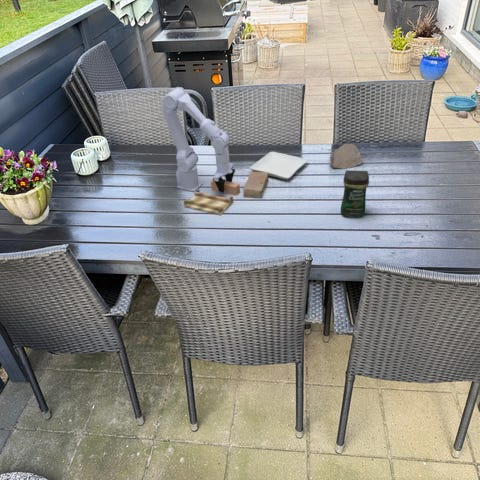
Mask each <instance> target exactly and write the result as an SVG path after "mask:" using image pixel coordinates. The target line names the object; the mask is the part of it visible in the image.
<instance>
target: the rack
mask: <svg viewBox="0 0 480 480" xmlns="http://www.w3.org/2000/svg"><path fill="white" fill-rule="evenodd" d="M193 192H194V196H192V197H191V199H189V198H186V199H184V200H183V206H184V208H187V209H192V210H196V211H200V212H205V213H209V214H212V215H216V216H222V215H223V214H225V212H226V211H227V210H228V209H229V208H230V207H231V205H233V203H234V196H233V195H230V196H229V198H227V197H224V196H223V197H222V196H217V195H213V194H208V193H204V192H200V189H199V188H198V189H196V190H195V191H193Z"/></svg>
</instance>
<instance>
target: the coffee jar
mask: <svg viewBox="0 0 480 480" xmlns="http://www.w3.org/2000/svg"><path fill="white" fill-rule="evenodd" d="M369 176H370V175H369V171H368V170H346V171H345V172H344V175H343V186H344V189H343V196H342V201H341V206H340V214H341V215H342V217H345V218H362V217H364V216H365V215H366V205H367V204H366V197H367V195H366V194H367V188H368V187H369V184H370V177H369Z"/></svg>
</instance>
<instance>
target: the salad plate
mask: <svg viewBox="0 0 480 480" xmlns="http://www.w3.org/2000/svg"><path fill="white" fill-rule="evenodd" d="M308 162H309V159H307V158H303V157H299V156H295V155H290V154H285V153H282V152H278V151H277V152H276V151H270V152H268V153H267V154H265V155H264V156H263V157H262V158H260V159H259V160H258V161H256V162H255V163H254V164H253V165H251V166H250V167H249V169H250V171H251V172H266V173H268V177H269V176H270V177H273V178H277V179H281V180H285V181H287V180H290V179H291V177H292V176H293V175H294V174H296V172H298V170H300V169H301V168H302V167H304V165H306V164H307V163H308Z"/></svg>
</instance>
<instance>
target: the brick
mask: <svg viewBox="0 0 480 480" xmlns="http://www.w3.org/2000/svg"><path fill="white" fill-rule="evenodd" d="M268 181H269V175H268V173H266V172H254V171H250V172H249V174H248V178H247V180H246V182H245V183H244V186H243V191H242V193H243V197H244V198H249V199H257V200H258V199H262V197H263V196H264V195H263V193H264V192H265V189H266V187H267V183H268Z"/></svg>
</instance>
